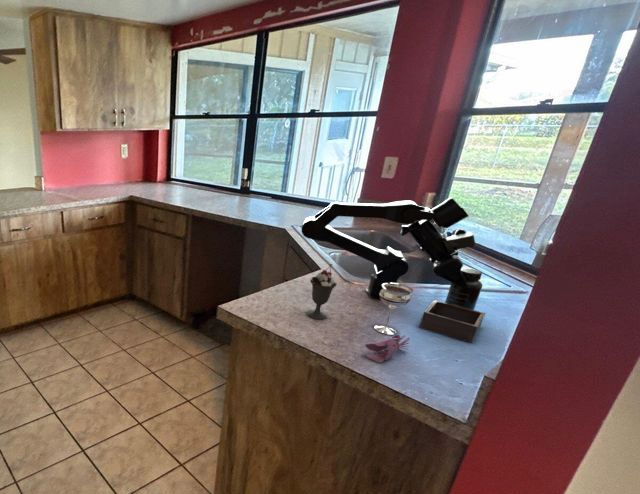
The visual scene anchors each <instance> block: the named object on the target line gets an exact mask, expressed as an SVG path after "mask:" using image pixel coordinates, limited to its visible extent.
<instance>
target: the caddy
mask: <svg viewBox="0 0 640 494" xmlns="http://www.w3.org/2000/svg"><path fill="white" fill-rule="evenodd" d="M485 315H486V312H482V311H479V310H475V309H474V310H471V309H467V308H464V307H460V306H456V305H452V304H448V303H445V302H443V301H440V300H435V299H434V300H433V301H432V302H431V303H430V305H429V306H428V307H426V309H425V311H424V312H423V314H422V318H421V320H420V323H419V328H420V329H423V330H427V331H431V332H434V333H436V334H441V335H443V336H447V337H450V338H454V339H457V340H459V341H462V342H463V341H464V342H467V343H469V344H472V343H473V341H474V339H475V337H476V336H477V334H478V332H479V330H480V328H481V325H482V323H483V321H484V319H485Z"/></svg>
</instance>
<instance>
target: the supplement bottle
mask: <svg viewBox="0 0 640 494" xmlns="http://www.w3.org/2000/svg"><path fill="white" fill-rule="evenodd" d="M461 273H462V275H463V277H464V279H465V281H466V283H467V285H468V287H466V288H462V287H460V286H458V285H456V284H454V283H452V282H450V285H449V287H448V288H449V289H448V292H447V295H446V298H445V300H444V301H445V302H444V303H448V304H452V305H456V306H460V307H464V308H467V309H471V310H475V309H476V305H477V303H478V300H479V297H480V294H481V291H482V289H483V283H482V281H480V280H481V278H482V275H483V272H482V271H481V270H478V269H474V268H470V267H469V268H466V267H464V268H463V267H462V268H461Z"/></svg>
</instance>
